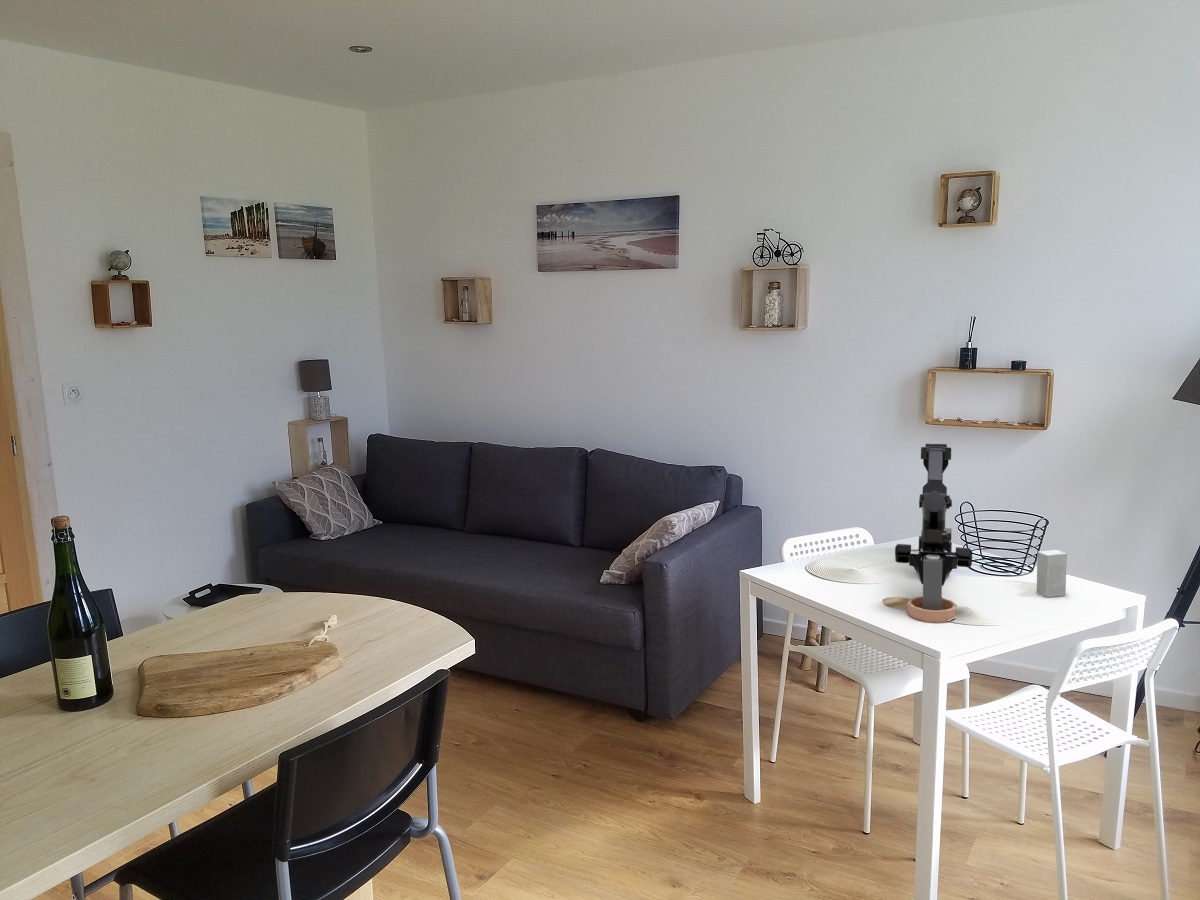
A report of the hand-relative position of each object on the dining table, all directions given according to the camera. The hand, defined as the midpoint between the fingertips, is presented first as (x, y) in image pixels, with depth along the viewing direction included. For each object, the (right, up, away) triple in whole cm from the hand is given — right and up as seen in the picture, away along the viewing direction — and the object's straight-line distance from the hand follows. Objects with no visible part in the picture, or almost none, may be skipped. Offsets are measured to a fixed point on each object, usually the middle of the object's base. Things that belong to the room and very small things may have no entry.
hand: (932, 584), depth 220 cm
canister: (+1, -6, +2) cm, 7 cm away
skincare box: (+38, -5, +14) cm, 41 cm away
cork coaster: (-4, -7, +12) cm, 15 cm away
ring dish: (+1, -8, +2) cm, 9 cm away
